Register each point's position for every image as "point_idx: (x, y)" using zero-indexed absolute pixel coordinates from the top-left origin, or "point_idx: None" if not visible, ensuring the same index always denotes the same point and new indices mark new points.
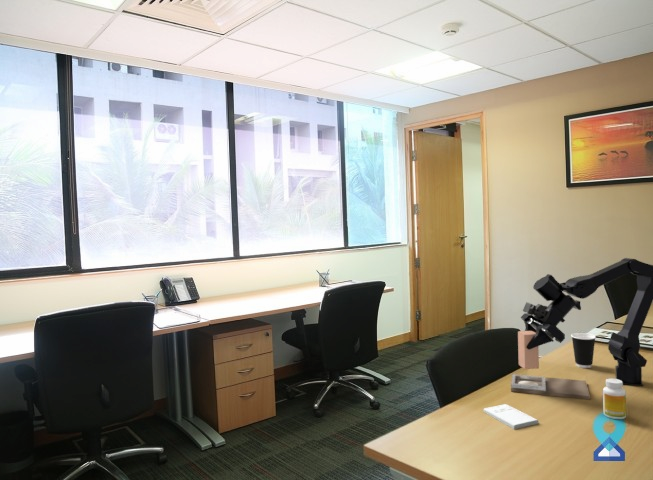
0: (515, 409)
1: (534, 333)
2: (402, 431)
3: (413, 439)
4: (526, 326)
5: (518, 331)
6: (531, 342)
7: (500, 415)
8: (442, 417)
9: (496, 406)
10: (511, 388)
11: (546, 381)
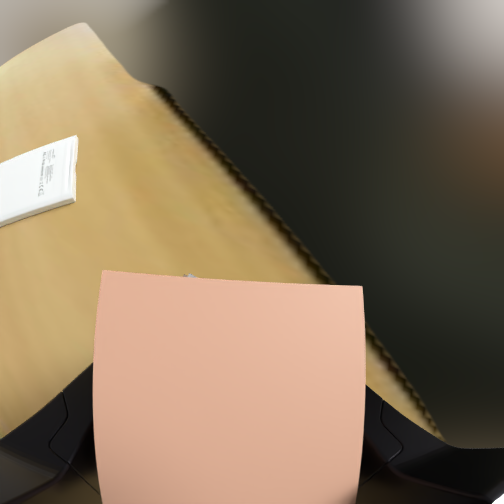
0: (33, 203)
1: (150, 493)
2: (90, 38)
3: (63, 47)
4: (455, 462)
5: (355, 293)
6: (91, 368)
7: (28, 156)
8: (99, 74)
9: (70, 165)
10: (184, 276)
11: None
